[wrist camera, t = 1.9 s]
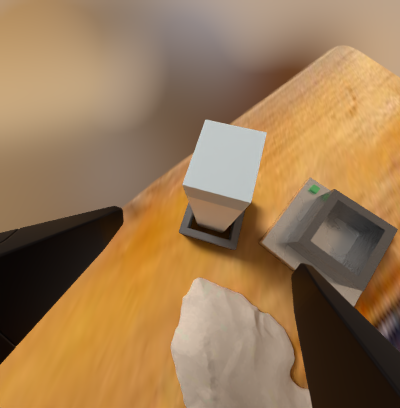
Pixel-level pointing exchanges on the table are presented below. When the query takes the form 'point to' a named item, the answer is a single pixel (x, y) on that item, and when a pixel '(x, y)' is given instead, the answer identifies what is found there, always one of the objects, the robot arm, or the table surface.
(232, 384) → the decorative stone
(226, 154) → the plug
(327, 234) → the port
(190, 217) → the grey hollow square frame
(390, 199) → the table surface
